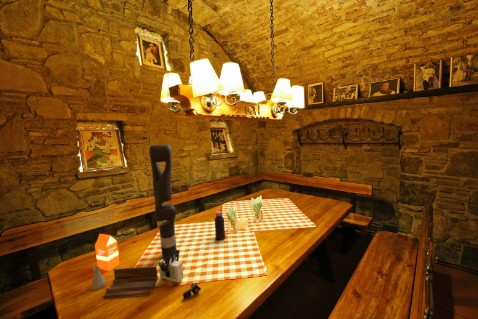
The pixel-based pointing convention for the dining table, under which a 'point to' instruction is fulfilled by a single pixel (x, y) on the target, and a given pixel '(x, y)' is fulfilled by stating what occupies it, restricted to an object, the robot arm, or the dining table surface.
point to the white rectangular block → (173, 271)
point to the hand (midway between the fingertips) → (171, 273)
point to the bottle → (219, 226)
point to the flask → (97, 279)
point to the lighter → (193, 289)
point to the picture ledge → (132, 282)
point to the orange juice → (107, 252)
